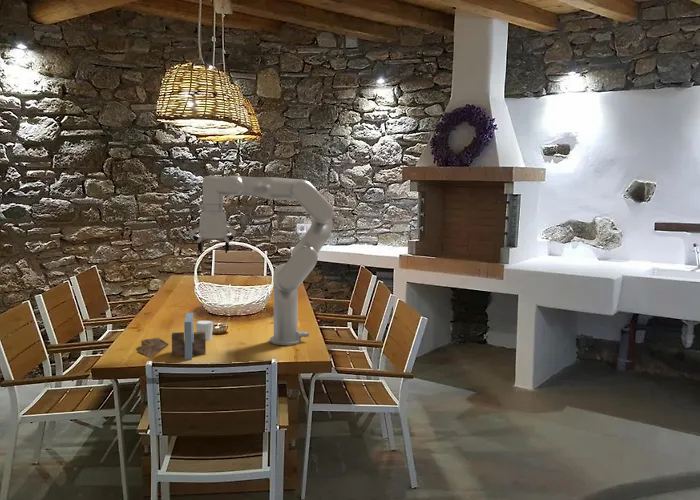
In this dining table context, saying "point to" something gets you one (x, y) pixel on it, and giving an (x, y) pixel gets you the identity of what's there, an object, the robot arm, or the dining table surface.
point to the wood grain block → (197, 345)
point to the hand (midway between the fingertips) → (213, 252)
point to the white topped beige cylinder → (205, 328)
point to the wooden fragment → (151, 346)
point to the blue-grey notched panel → (188, 335)
